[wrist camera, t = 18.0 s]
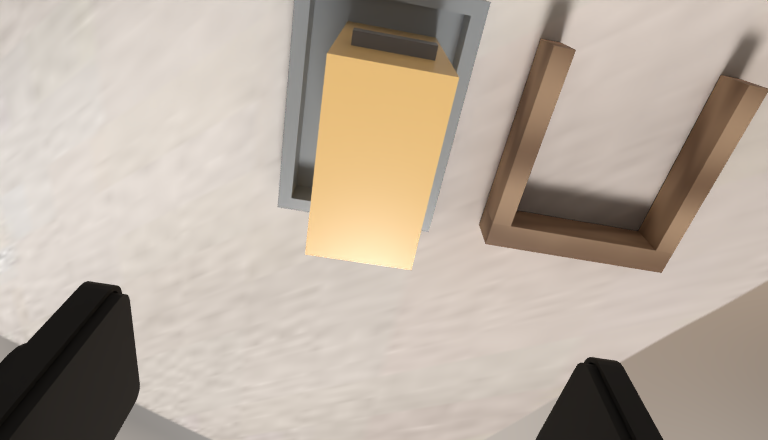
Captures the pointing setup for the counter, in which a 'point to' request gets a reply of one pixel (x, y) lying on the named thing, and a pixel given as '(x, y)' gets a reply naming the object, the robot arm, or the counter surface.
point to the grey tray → (308, 60)
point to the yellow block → (378, 144)
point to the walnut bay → (672, 205)
